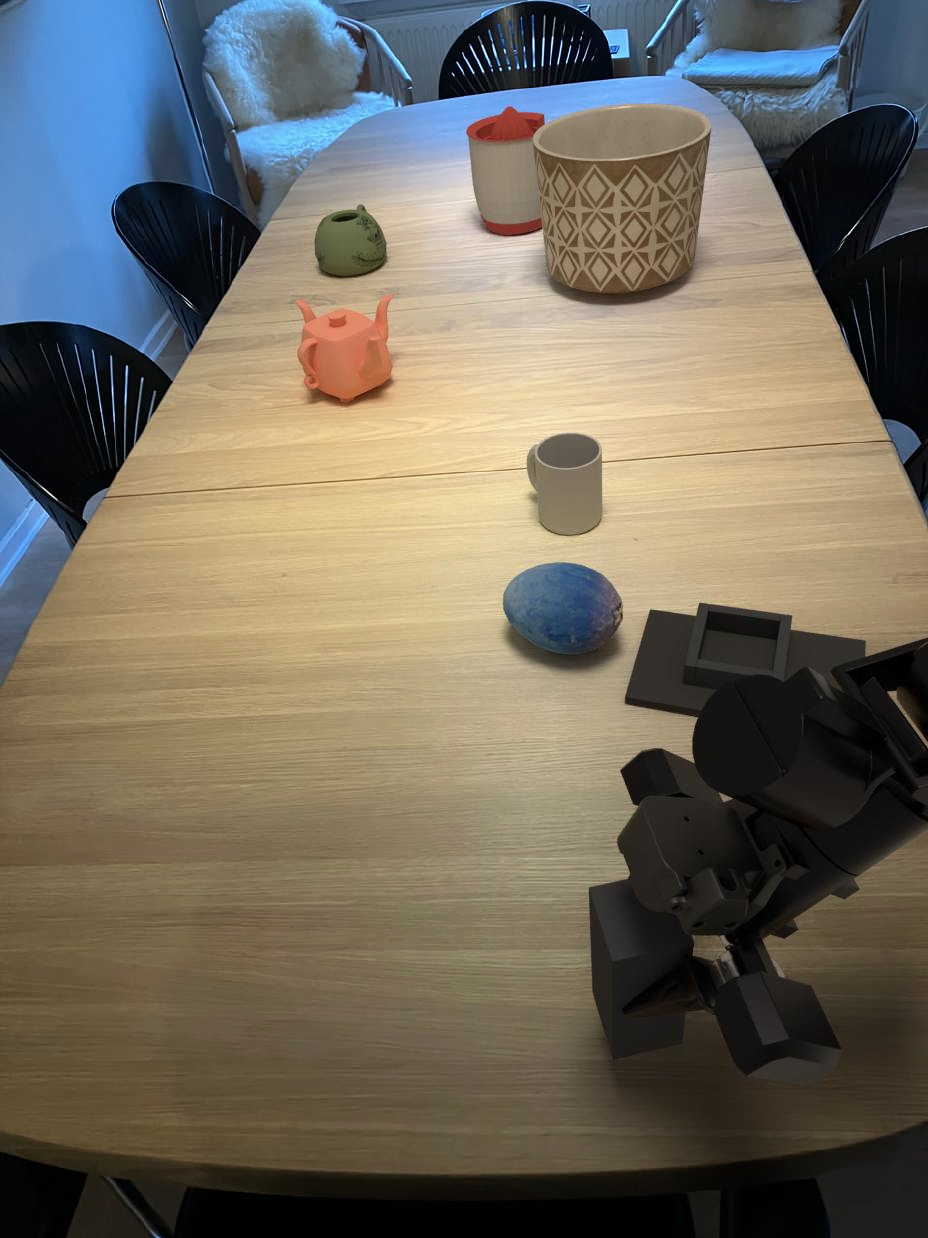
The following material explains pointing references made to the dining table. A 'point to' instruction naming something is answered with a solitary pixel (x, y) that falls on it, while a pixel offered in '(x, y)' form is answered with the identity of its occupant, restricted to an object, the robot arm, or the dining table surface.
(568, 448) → the cup
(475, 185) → the citrus juicer
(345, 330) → the teapot
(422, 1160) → the dining table surface
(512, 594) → the blue oval fruit
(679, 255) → the planter
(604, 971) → the pad block
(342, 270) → the green round vase
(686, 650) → the base pad
